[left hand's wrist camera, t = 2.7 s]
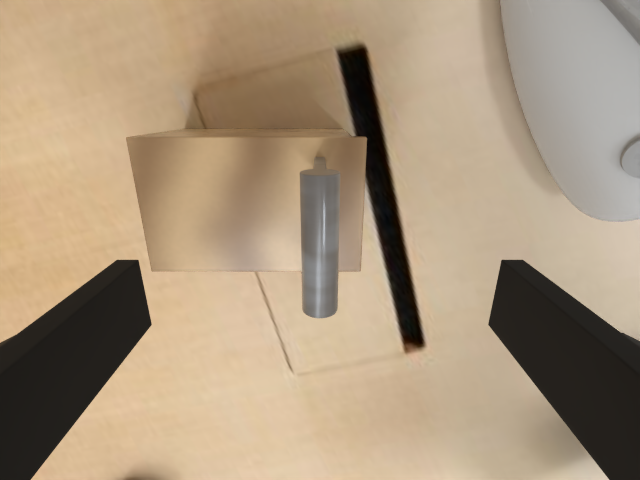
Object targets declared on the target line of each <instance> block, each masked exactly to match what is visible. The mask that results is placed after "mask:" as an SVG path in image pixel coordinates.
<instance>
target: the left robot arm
mask: <svg viewBox="0 0 640 480" xmlns="http://www.w3.org/2000/svg"><path fill="white" fill-rule="evenodd" d="M151 325H152V324H151V319H150V314H149V310H148V305H147V300H146V295H145V290H144V285H143V280H142V276H141V271H140V266H139V261H138V260H116V261H115V262H114V263H112V264H111V265H110V266H108V267H107V268H106V269H104V270H103V271H102V272H100V273H99V274H98V275H96V276H95V277H94V278H92V279H91V280H90V281H88V282H87V283H85V284H84V285H83V286H81V287H80V288H79V289H77V290H76V291H75V292H73V293H72V294H71V295H69V296H68V297H67V298H65V299H64V300H63V301H61V302H60V303H59V304H57V305H56V306H55V307H53V308H52V309H51V310H49V311H48V312H46V313H45V314H44V315H42V316H41V317H40V318H38V319H37V320H36V321H34V322H33V323H32V324H30V325H29V326H28V327H26V328H25V329H24V330H22V331H21V332H20V333H18V334H17V335H15V336H13V337H11V338H9V339H7V340H5V341H3V342H1V343H0V480H31V478H32V477H33V476H34V475H35V473H36V472H37V471H38V469H39V468H40V467H41V466H42V464H43V463H44V462H45V460H46V459H47V458H48V457H49V455H50V454H51V453H52V451H53V450H54V449H55V448H56V446H57V445H58V444H59V443H60V441H61V440H62V439H63V437H64V436H65V435H66V434H67V432H68V431H69V430H70V428H71V427H72V426H73V425H74V423H75V422H76V421H77V419H78V418H79V417H80V416H81V414H82V413H83V412H84V411H85V409H86V408H87V407H88V405H89V404H90V403H91V402H92V400H93V399H94V398H95V396H96V395H97V394H98V393H99V391H100V390H101V389H102V387H103V386H104V385H105V384H106V382H107V381H108V380H109V379H110V377H111V376H112V375H113V373H114V372H115V371H116V370H117V368H118V367H119V366H120V364H121V363H122V362H123V361H124V359H125V358H126V357H127V355H128V354H129V353H130V352H131V350H132V349H133V348H134V347H135V345H136V344H137V343H138V341H139V340H140V339H141V338H142V336H143V335H144V334H145V332H146V331H147V330H148V329H149V327H150V326H151ZM488 325H489V326H490V327H491V329H492V330H493V331H494V332H495V334H496V335H497V336H498V338H499V339H500V340H501V341H502V343H503V344H504V345H505V347H506V348H507V349H508V350H509V352H510V353H511V354H512V355H513V357H514V358H515V359H516V361H517V362H518V363H519V364H520V366H521V367H522V368H523V370H524V371H525V372H526V373H527V375H528V376H529V377H530V379H531V380H532V381H533V382H534V384H535V385H536V386H537V387H538V389H539V390H540V391H541V393H542V394H543V395H544V396H545V398H546V399H547V400H548V402H549V403H550V404H551V405H552V407H553V408H554V409H555V411H556V412H557V413H558V414H559V416H560V417H561V418H562V419H563V421H564V422H565V423H566V425H567V426H568V427H569V428H570V430H571V431H572V432H573V434H574V435H575V436H576V437H577V439H578V440H579V441H580V443H581V444H582V445H583V446H584V448H585V449H586V450H587V451H588V453H589V454H590V455H591V457H592V458H593V459H594V460H595V462H596V463H597V464H598V466H599V467H600V468H601V469H602V471H603V472H604V473H605V475H606V476H607V477H608V478H609V480H640V341H638V340H636V339H634V338H632V337H630V336H628V335H626V334H624V333H620V332H619V331H618V330H616V329H615V328H614V327H612V326H611V325H610V324H608V323H607V322H606V321H604V320H603V319H602V318H600V317H599V316H598V315H596V314H595V313H594V312H592V311H591V310H589V309H588V308H587V307H585V306H584V305H583V304H581V303H580V302H579V301H577V300H576V299H575V298H573V297H572V296H571V295H569V294H568V293H567V292H565V291H564V290H563V289H561V288H560V287H559V286H557V285H556V284H555V283H553V282H552V281H550V280H549V279H548V278H546V277H545V276H544V275H542V274H541V273H540V272H538V271H537V270H536V269H534V268H533V267H532V266H530V265H529V264H528V263H526V262H525V261H524V260H502V261H501V266H500V271H499V276H498V280H497V285H496V290H495V295H494V300H493V305H492V310H491V314H490V319H489V324H488Z"/></svg>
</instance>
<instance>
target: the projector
mask: <svg viewBox="0 0 640 480" xmlns="http://www.w3.org/2000/svg"><path fill="white" fill-rule="evenodd" d="M500 6H501V16H502V23H503V30H504V37H505V43H506V48H507V53H508V58H509V63H510V68H511V72H512V76H513V80H514V84H515V88H516V91H517V95H518V98H519V102H520V104H521V107H522V110H523V113H524V116H525V119H526V122H527V124H528V127H529V129H530V132H531V134H532V137H533V139H534V141H535V143H536V146H537V148H538V150H539V152H540V154H541V157H542V158H543V160H544V162H545V164H546V166H547V168H548V170H549V172H550V174H551V175H552V177H553V179H554V181H555V182H556V184H557V185H558V187H559V188H560V190H561V191H562V193H563V194H564V195H565V196H566V198H567V199H568V200H569V201H570V202H571V203H572V204H573V205H574V206H575V207H576V208H578V209H579V210H580V211H581V212H583V213H585V214H586V215H588V216H590V217H592V218H596V219H599V220H604V221H615V222H620V221H631V220H637V219H640V0H500Z"/></svg>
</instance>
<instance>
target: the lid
mask: <svg viewBox="0 0 640 480" xmlns="http://www.w3.org/2000/svg"><path fill="white" fill-rule="evenodd" d="M126 140H127V145H128V150H129V155H130V160H131V166H132V171H133V176H134V181H135V187H136V192H137V197H138V202H139V207H140V213H141V218H142V223H143V228H144V233H145V239H146V244H147V249H148V254H149V259H150V265H151V270H152V271H302V309H303V312H304V313H305V314H306V315H308V316H310V317H314V318H326V317H330V316H332V315H334V314H335V313H336V311H337V307H338V271H361V252H362V231H363V210H364V189H365V168H366V147H367V138H366V137H365V136H132V137H126Z"/></svg>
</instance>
